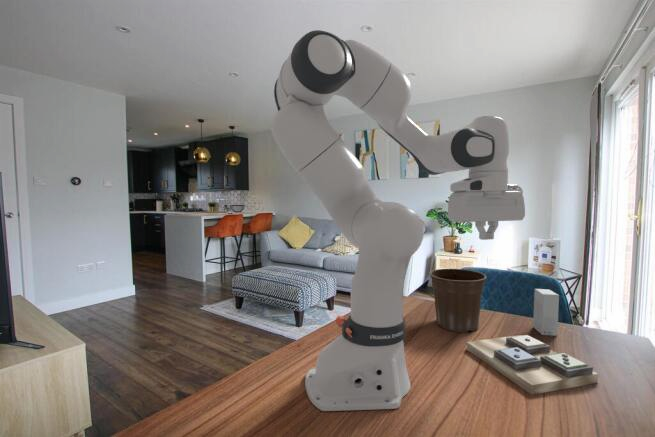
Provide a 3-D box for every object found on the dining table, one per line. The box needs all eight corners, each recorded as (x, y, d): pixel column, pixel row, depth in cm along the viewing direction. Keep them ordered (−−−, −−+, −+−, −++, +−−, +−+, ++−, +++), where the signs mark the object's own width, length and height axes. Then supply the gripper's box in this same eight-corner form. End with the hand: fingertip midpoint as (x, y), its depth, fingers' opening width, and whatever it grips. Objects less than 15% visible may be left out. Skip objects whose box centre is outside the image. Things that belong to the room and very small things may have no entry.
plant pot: (426, 330, 96) (427, 277, 95) (431, 312, 111) (431, 266, 110) (487, 339, 90) (488, 282, 89) (483, 319, 104) (484, 270, 103)
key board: (531, 394, 64) (532, 377, 64) (466, 349, 84) (467, 336, 84) (597, 382, 68) (598, 366, 68) (520, 342, 88) (521, 329, 88)
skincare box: (558, 336, 91) (559, 295, 90) (541, 335, 92) (543, 294, 91) (548, 327, 97) (549, 289, 96) (532, 326, 98) (533, 288, 97)
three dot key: (567, 375, 68) (567, 366, 68) (545, 363, 72) (546, 354, 72) (585, 372, 69) (586, 363, 69) (563, 360, 74) (564, 352, 74)
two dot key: (516, 368, 71) (516, 359, 71) (499, 357, 75) (499, 349, 75) (535, 365, 72) (535, 356, 72) (517, 354, 77) (517, 346, 77)
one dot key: (527, 353, 77) (527, 345, 77) (511, 343, 82) (511, 336, 82) (544, 350, 79) (544, 342, 78) (527, 341, 83) (527, 334, 83)
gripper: (512, 184, 86) (511, 236, 86) (444, 184, 81) (443, 239, 82) (532, 183, 79) (530, 239, 80) (460, 183, 75) (459, 242, 75)
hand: (486, 239), depth 81 cm, fingers closed
